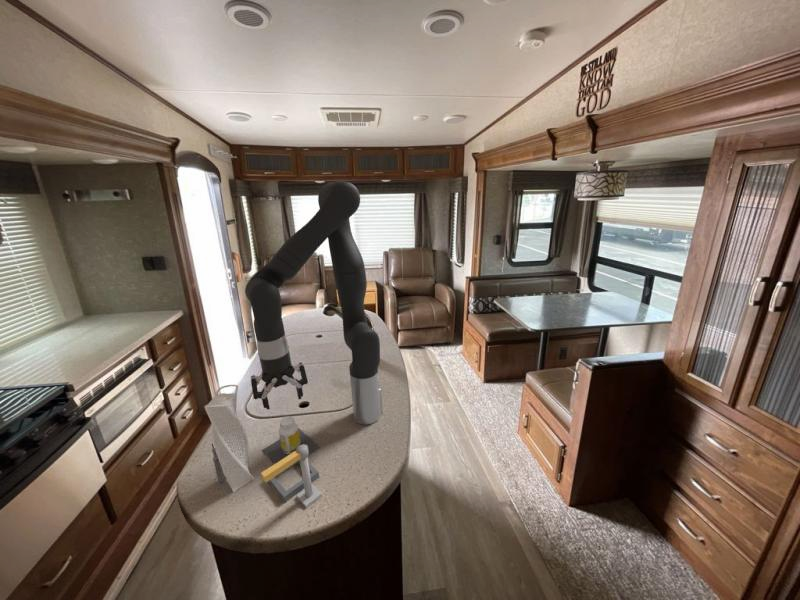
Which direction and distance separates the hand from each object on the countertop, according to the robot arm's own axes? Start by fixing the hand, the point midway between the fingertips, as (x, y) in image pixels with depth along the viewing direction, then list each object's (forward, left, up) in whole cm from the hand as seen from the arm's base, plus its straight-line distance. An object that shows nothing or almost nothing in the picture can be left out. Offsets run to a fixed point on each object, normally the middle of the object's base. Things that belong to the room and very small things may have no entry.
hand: (284, 402), depth 88 cm
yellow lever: (+9, +18, -3) cm, 20 cm away
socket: (+5, +13, -16) cm, 21 cm away
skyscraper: (+15, -1, -17) cm, 22 cm away
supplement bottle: (0, 0, -16) cm, 16 cm away
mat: (0, 0, -16) cm, 16 cm away
